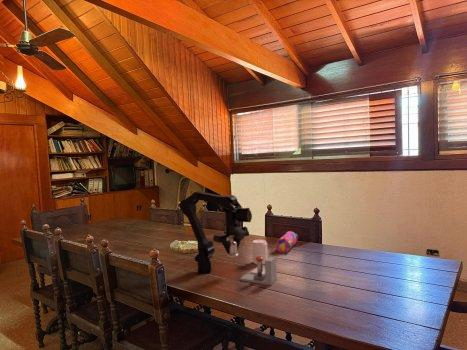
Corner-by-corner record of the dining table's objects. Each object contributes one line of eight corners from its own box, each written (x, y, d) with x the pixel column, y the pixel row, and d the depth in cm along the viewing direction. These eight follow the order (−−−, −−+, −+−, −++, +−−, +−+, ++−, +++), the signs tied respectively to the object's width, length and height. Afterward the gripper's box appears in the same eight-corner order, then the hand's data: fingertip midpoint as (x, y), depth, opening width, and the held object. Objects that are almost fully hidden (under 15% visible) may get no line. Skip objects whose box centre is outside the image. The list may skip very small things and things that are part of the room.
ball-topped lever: (253, 278, 155) (252, 258, 154) (257, 275, 159) (256, 255, 158) (263, 280, 152) (262, 259, 152) (267, 277, 156) (266, 256, 156)
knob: (224, 255, 164) (223, 241, 163) (233, 253, 167) (232, 239, 167) (231, 258, 159) (231, 243, 159) (240, 255, 163) (240, 241, 163)
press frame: (240, 280, 157) (239, 257, 157) (255, 268, 172) (254, 248, 171) (271, 285, 149) (270, 261, 149) (284, 273, 164) (284, 251, 163)
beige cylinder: (255, 266, 176) (254, 243, 175) (250, 261, 184) (250, 240, 183) (269, 264, 178) (269, 242, 178) (264, 259, 186) (263, 238, 185)
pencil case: (291, 254, 194) (290, 239, 194) (275, 252, 198) (274, 238, 198) (298, 244, 214) (298, 230, 214) (284, 243, 218) (284, 229, 218)
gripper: (226, 226, 150) (228, 260, 151) (255, 220, 162) (257, 251, 163) (211, 223, 159) (213, 255, 160) (241, 217, 171) (242, 247, 172)
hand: (232, 252), depth 163 cm, fingers closed on knob, 5 cm apart
